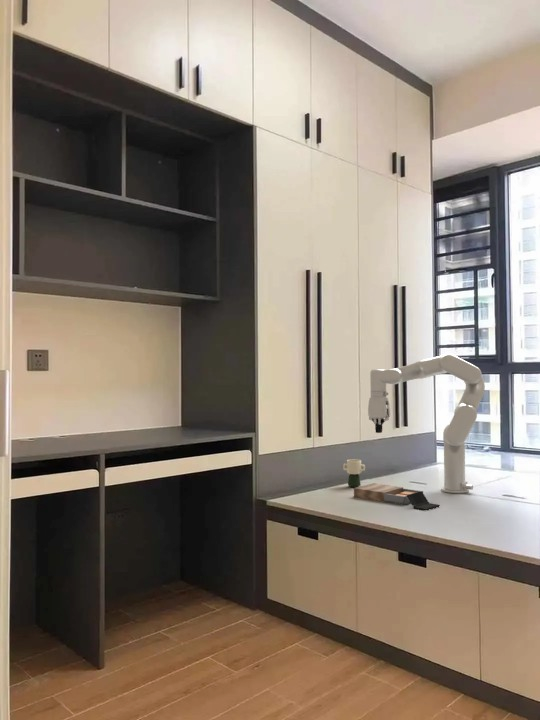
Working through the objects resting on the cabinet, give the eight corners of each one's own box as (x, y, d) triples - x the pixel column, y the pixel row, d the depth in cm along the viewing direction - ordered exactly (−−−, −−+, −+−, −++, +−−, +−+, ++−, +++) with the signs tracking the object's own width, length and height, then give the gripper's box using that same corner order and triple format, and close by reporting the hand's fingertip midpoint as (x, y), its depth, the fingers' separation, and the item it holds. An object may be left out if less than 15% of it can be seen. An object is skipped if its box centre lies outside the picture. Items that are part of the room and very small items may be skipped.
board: (403, 496, 282) (403, 487, 282) (384, 501, 270) (384, 492, 270) (373, 491, 293) (373, 483, 293) (353, 496, 281) (353, 488, 281)
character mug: (366, 486, 307) (366, 459, 307) (364, 488, 300) (363, 461, 300) (344, 485, 310) (344, 459, 310) (341, 487, 304) (341, 461, 304)
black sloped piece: (430, 507, 251) (417, 486, 256) (417, 517, 254) (404, 495, 259) (442, 506, 260) (429, 486, 265) (428, 515, 263) (416, 495, 268)
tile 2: (405, 491, 279) (405, 495, 279) (399, 492, 275) (399, 497, 275) (415, 492, 275) (415, 497, 275) (409, 494, 272) (409, 499, 271)
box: (423, 499, 275) (423, 491, 275) (404, 505, 263) (404, 496, 263) (403, 496, 282) (403, 488, 282) (384, 501, 270) (384, 493, 270)
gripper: (395, 394, 298) (396, 433, 298) (369, 394, 308) (370, 431, 308) (387, 395, 293) (387, 434, 292) (361, 394, 303) (361, 432, 303)
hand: (378, 432), depth 300 cm, fingers closed
